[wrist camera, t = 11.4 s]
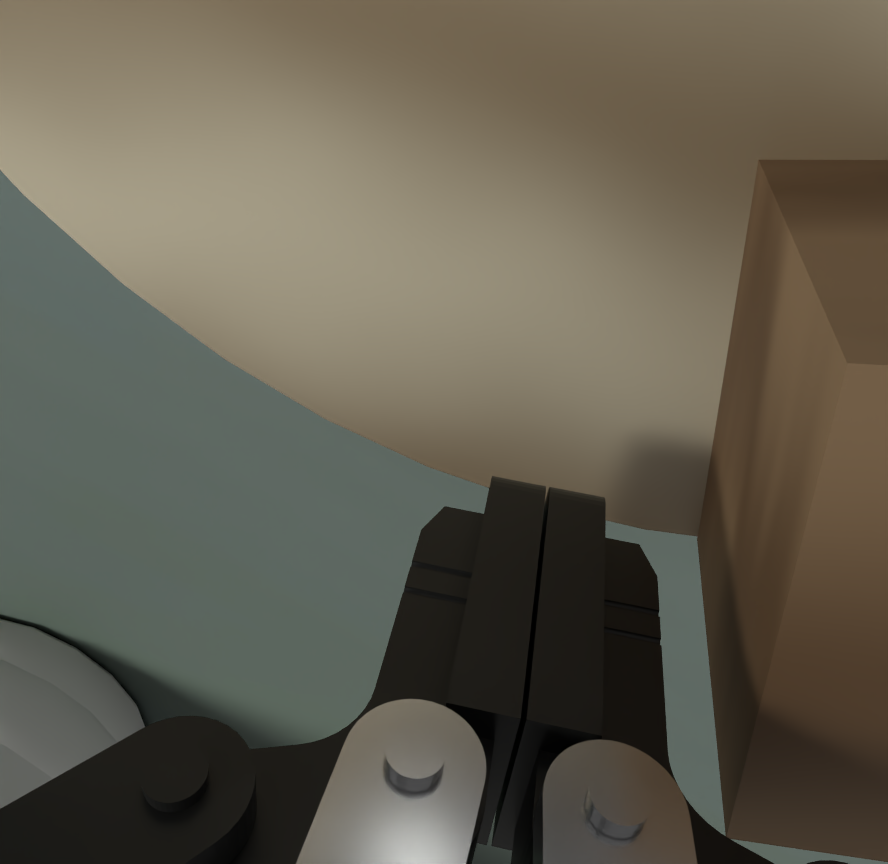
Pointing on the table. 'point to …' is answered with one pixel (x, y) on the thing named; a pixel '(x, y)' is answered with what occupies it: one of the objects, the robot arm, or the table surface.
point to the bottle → (53, 709)
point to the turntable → (541, 286)
